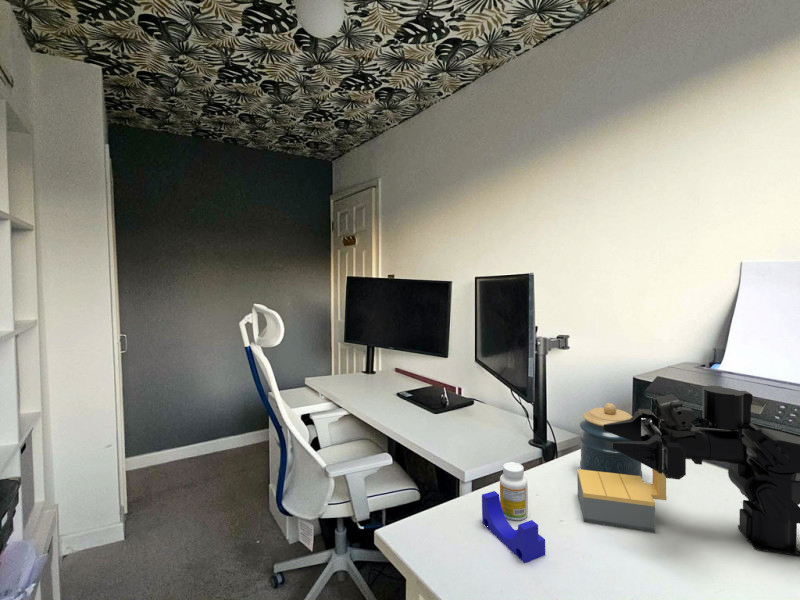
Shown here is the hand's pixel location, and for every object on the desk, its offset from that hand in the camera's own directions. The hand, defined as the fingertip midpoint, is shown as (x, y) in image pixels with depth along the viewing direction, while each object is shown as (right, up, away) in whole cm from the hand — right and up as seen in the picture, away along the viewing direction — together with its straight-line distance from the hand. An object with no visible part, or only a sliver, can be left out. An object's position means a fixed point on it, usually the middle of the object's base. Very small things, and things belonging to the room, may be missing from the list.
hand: (607, 435), depth 76 cm
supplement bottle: (-17, -17, +3) cm, 25 cm away
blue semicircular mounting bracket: (-20, -18, -4) cm, 27 cm away
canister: (+9, -16, +17) cm, 25 cm away
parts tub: (+3, -16, +3) cm, 17 cm away
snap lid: (+4, -12, +2) cm, 13 cm away
